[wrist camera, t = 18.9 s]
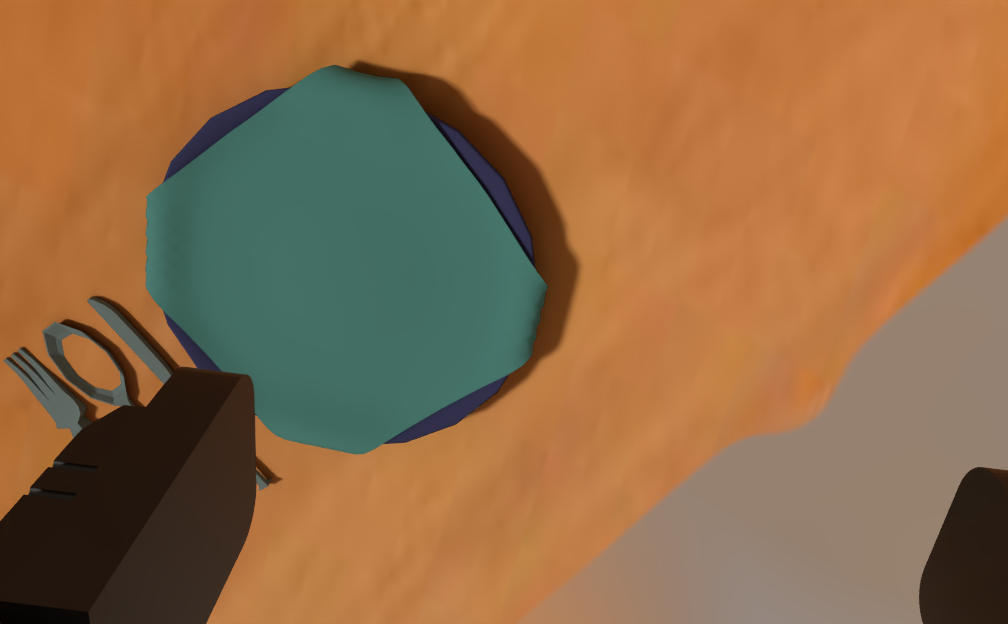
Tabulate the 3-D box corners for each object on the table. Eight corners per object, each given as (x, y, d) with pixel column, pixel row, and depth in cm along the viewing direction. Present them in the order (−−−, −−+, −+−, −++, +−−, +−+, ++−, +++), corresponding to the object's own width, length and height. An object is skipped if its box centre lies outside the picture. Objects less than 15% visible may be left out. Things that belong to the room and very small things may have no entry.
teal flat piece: (612, 322, 46) (614, 342, 44) (202, 547, 55) (187, 573, 53) (385, -11, 40) (374, -6, 37) (-37, 305, 49) (-65, 324, 47)
